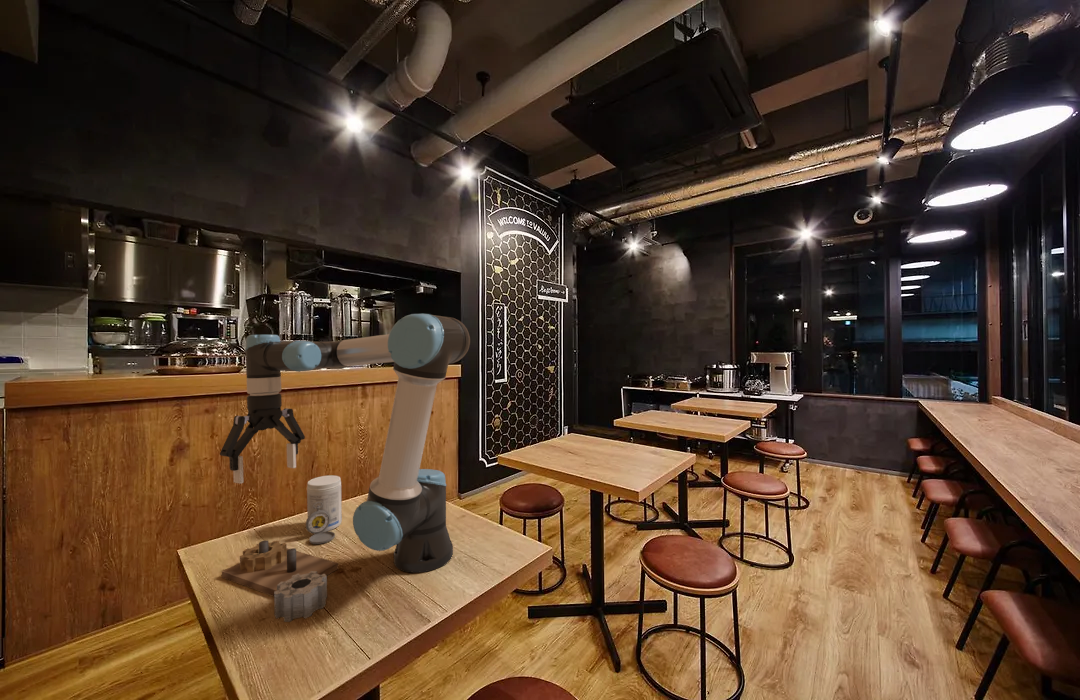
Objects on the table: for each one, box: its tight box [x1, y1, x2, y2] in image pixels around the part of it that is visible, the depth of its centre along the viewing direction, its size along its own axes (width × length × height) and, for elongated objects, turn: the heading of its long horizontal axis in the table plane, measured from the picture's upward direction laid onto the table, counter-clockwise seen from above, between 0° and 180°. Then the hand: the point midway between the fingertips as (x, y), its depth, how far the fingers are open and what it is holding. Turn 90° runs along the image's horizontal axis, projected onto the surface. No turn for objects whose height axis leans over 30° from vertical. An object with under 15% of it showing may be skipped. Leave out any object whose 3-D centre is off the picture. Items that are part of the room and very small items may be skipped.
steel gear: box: [273, 571, 328, 623], centre depth 90 cm, size 10×10×5 cm
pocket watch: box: [305, 502, 336, 545], centre depth 121 cm, size 8×8×10 cm
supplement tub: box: [306, 475, 343, 532], centre depth 129 cm, size 10×10×15 cm
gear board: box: [221, 539, 339, 597], centre depth 103 cm, size 23×14×6 cm, turn 66°
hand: (266, 474), depth 108 cm, fingers open, 13 cm apart
